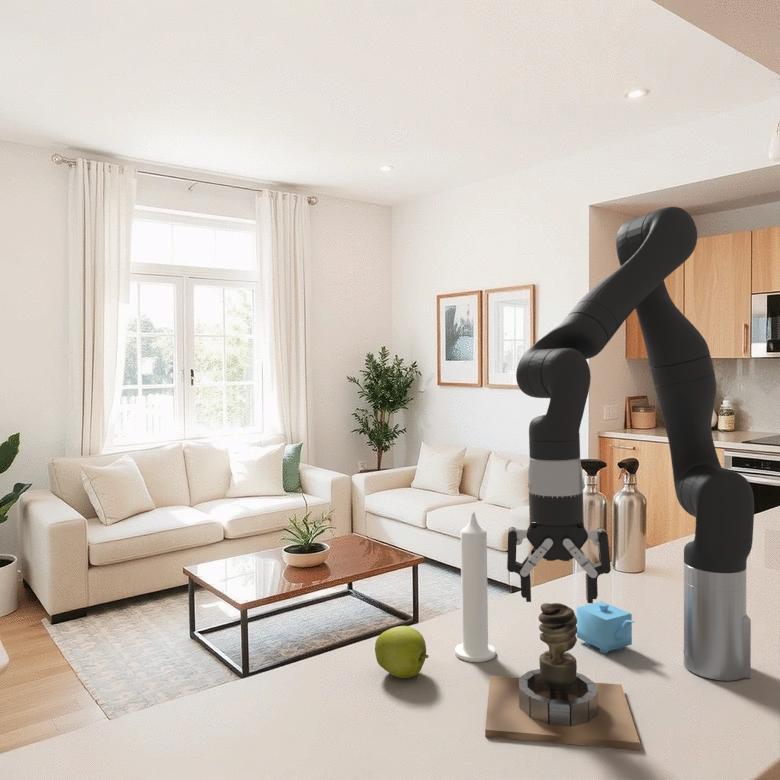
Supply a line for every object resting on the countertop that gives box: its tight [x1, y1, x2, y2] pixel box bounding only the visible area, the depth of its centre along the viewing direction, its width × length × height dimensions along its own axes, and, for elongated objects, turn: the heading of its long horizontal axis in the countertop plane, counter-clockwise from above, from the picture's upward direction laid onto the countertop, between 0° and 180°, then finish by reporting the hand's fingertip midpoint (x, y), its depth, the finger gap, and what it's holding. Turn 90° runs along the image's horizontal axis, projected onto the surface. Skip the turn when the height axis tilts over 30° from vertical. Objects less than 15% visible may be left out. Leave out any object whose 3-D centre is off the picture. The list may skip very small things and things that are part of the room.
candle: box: [454, 511, 496, 663], centre depth 117 cm, size 7×7×25 cm
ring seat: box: [519, 668, 598, 727], centre depth 97 cm, size 11×11×3 cm
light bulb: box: [538, 602, 578, 701], centre depth 97 cm, size 6×6×15 cm
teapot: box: [576, 600, 635, 654], centre depth 119 cm, size 12×6×8 cm, turn 28°
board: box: [484, 675, 641, 751], centre depth 98 cm, size 20×16×1 cm
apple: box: [374, 625, 430, 679], centre depth 110 cm, size 8×9×8 cm
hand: (558, 600), depth 97 cm, fingers open, 8 cm apart
